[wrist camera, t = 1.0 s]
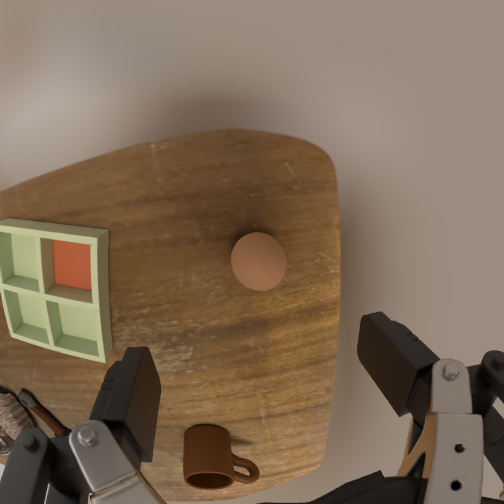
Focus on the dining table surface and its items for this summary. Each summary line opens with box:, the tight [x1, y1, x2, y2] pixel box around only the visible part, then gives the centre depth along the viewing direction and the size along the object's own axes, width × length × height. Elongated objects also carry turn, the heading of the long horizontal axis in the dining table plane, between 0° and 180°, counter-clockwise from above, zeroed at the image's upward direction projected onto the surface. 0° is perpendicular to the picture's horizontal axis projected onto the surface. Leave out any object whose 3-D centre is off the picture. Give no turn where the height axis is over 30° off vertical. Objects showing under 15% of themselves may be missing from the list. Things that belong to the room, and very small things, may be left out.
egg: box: [231, 232, 287, 291], centre depth 27 cm, size 5×5×8 cm
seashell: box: [0, 393, 34, 440], centre depth 30 cm, size 14×9×10 cm
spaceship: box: [0, 425, 15, 456], centre depth 32 cm, size 8×35×8 cm
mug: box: [183, 425, 260, 490], centre depth 35 cm, size 12×8×9 cm, turn 70°
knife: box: [18, 392, 71, 437], centre depth 36 cm, size 9×2×30 cm
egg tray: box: [0, 218, 113, 363], centre depth 27 cm, size 15×15×4 cm
